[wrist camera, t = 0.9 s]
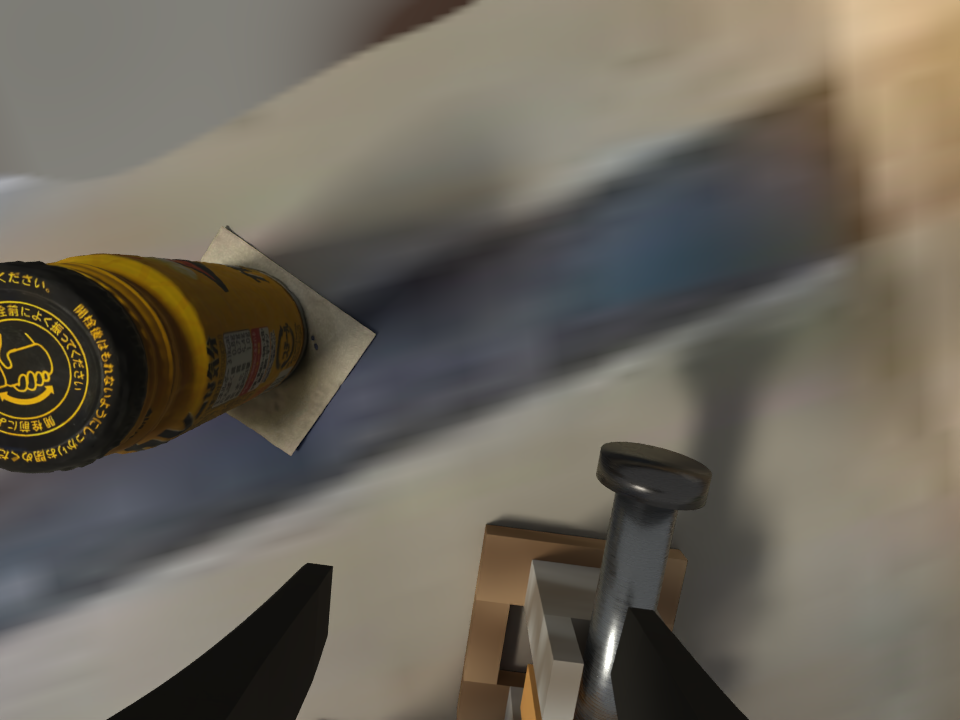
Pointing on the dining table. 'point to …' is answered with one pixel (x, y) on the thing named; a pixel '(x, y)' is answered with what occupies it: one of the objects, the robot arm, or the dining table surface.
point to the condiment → (161, 353)
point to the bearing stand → (539, 618)
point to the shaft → (633, 552)
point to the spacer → (530, 697)
